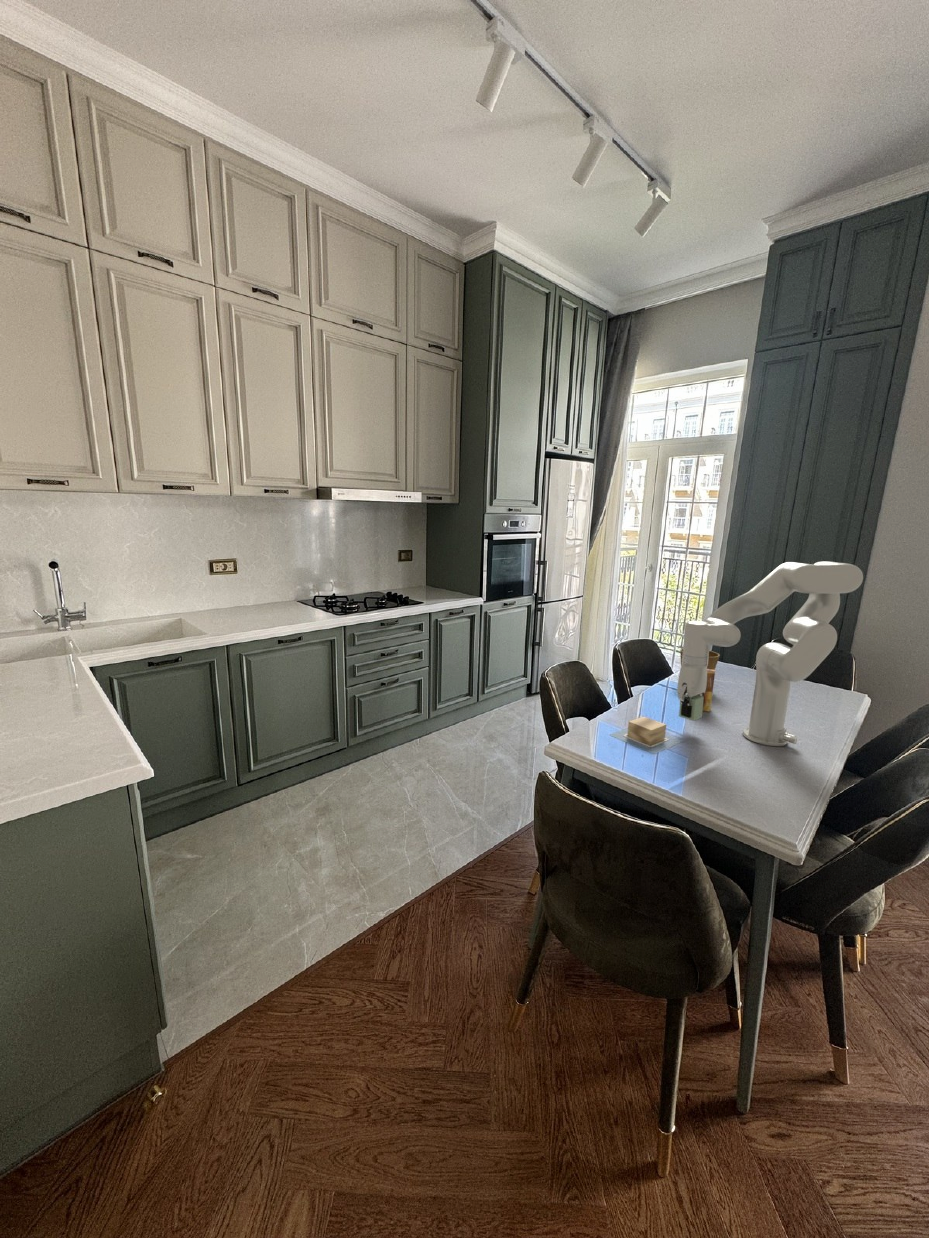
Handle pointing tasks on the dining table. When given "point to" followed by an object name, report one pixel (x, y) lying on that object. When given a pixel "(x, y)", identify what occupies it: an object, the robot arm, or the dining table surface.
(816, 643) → the robot arm
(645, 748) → the board
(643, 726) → the oak block
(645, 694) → the dining table surface
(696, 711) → the sage brick
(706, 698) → the candy box
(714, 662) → the plant pot
